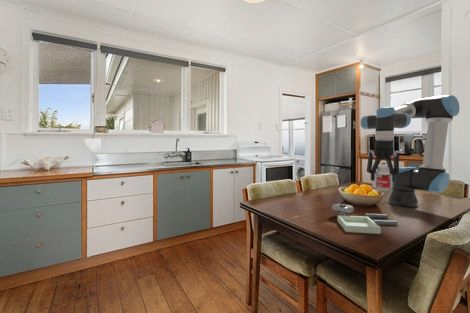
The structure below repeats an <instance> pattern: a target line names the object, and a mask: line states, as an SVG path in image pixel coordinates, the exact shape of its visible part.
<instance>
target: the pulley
mask: <svg viewBox="0 0 470 313" xmlns="http://www.w3.org/2000/svg"><path fill="white" fill-rule="evenodd" d="M331 208H332V210H333V211H335V212H338V213H339V215H343V216H346V213H348V214H349V213H354V206H353V205H350V204H346V203H345V204H344V203H333V204H332V206H331Z"/></svg>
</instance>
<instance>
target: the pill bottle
mask: <svg viewBox="0 0 470 313" xmlns="http://www.w3.org/2000/svg"><path fill="white" fill-rule="evenodd" d="M375 174H377V181H376V188H374V189H375V190H378V191H389V190H390V188H389V185H390V172H389V167H388V166H383V165H382V166H379V165H378V168H377V170H376V172H375Z"/></svg>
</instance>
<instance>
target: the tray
mask: <svg viewBox="0 0 470 313" xmlns="http://www.w3.org/2000/svg"><path fill="white" fill-rule="evenodd" d="M336 218H337V222H338V224H339V225H340V226H341V227H342V229H343V230H344V232H346V233H360V234H361V233H362V234H363V233H364V234H374V235H375V234H379V235H381V233H382V227H381V225H377V224H376V223H375V222H374V221H373V220H374V219H372V218H369V217H365V216H360V215H345V216H343V215H340V214H339V215H337V217H336Z"/></svg>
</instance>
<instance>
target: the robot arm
mask: <svg viewBox="0 0 470 313" xmlns="http://www.w3.org/2000/svg"><path fill="white" fill-rule="evenodd" d="M459 113H460V103H459V100H458V98H457V96H455V95H453V94H445V95H444V94H443V95H436V96H430V97H424V98H423V97H422V98H418V99H414V100H412V101H411V100H410V101H409V102H406V103H403V104H401V105H400V106H399V107H393V106H385V107H384V106H383V107H378V108H377V109H376V112H375V114H367V115H363V116H362V117H361V119H360V127H361V128H362V129H363V130H375V134H374V135H375V136H374V139H375V141H374V150H373V151H371V152H370V151H368V152H367V157H368V158H367V165H366V172H367V173H369V174H370V180H371V181H372V182H371V183H372V184H371V187H372V188H374V189H375V188H376V181H377V174H375V172H376V171H378V170H377V168H378V166H379V164H380V162H381V161H382V160H385V162H386V165H387V166H386V167H389V170H388V172H390V185H389V189H391V192H390V193H389V196H388V198H387V203H388V204H390V205H393V206H397V207H405V208H417V207H418V206H419V200H418V198H417V195H416V190H418V191H422V192H428V193H434V194H435V193H436V194H440V193H441V194H442V193H443V192H445V191H446V189H447V188H448V186H449V184H450V181H451V178H450V177H451V176H450V174H449V173H448V172H446V169H445V167H444V166H443V165H444V156H445V151H446V143H447V136H448V128H449V123H451V122H452V121H453V119H454V117H457V116H458V115H459ZM424 118H425V121H426V122H427V131H426V138H425V145H424V152H423V159H422V164H421V165H419V166H418V168H417V167H416V166H400V164H399V163H400V160H399V159H400V155H401V153H400V152H395V151H394V141H393V140H394V137H395V136H394V135H395V134H394V133H395V129H404V128H407V127H408V126H409V125H410V124H411V122H412V119H424ZM374 156H375V160H374ZM391 157H393V162H392V158H391ZM373 160H374V163H373Z"/></svg>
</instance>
